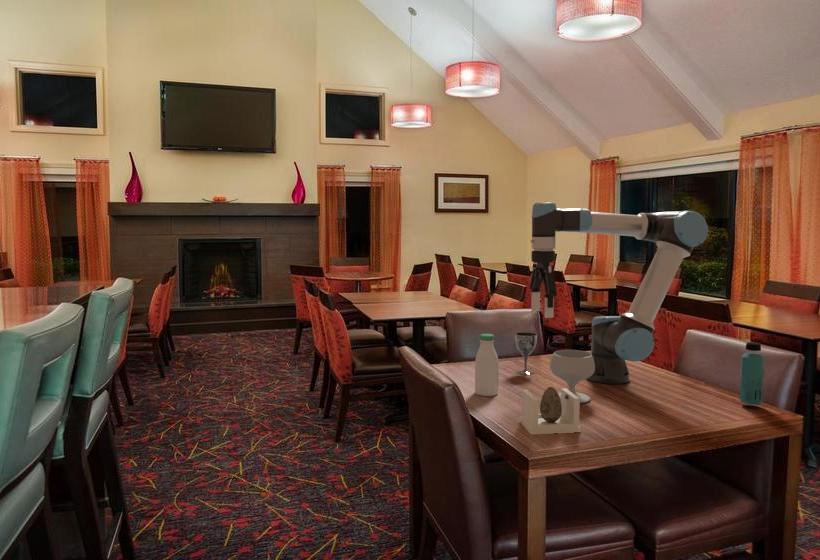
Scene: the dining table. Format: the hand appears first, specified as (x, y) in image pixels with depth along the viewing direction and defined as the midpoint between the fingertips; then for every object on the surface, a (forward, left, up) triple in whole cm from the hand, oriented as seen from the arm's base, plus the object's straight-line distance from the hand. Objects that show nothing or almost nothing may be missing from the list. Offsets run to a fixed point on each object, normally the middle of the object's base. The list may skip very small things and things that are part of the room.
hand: (542, 314), depth 196 cm
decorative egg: (+8, +32, -25) cm, 42 cm away
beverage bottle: (-60, +21, -27) cm, 69 cm away
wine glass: (-3, -27, -27) cm, 38 cm away
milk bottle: (+18, -2, -27) cm, 32 cm away
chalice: (-8, +7, -27) cm, 29 cm away
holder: (+8, +32, -27) cm, 42 cm away
